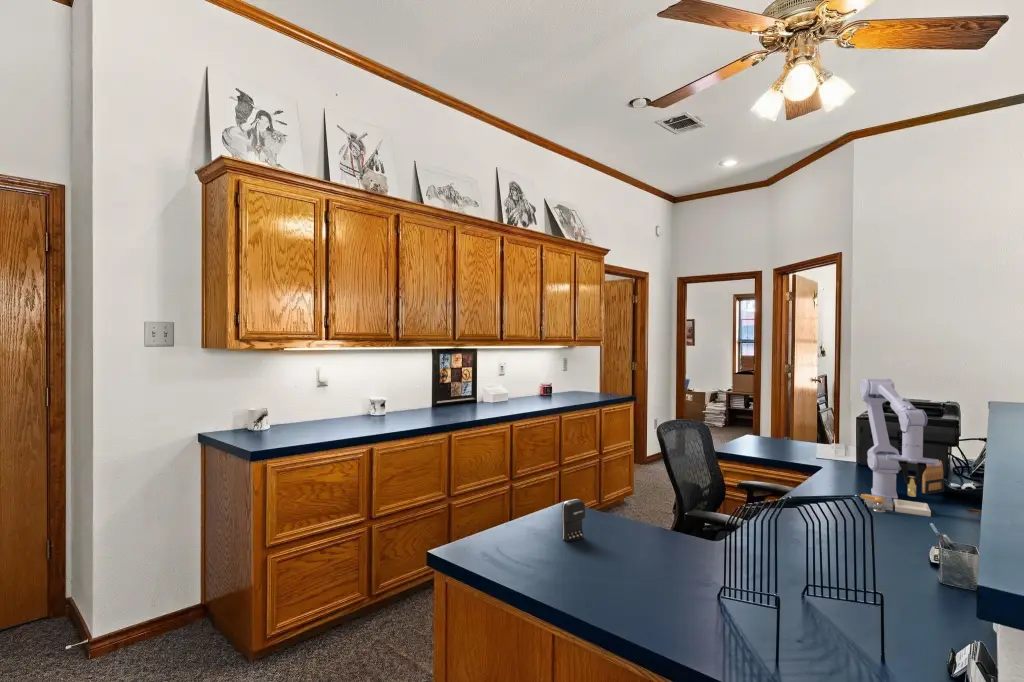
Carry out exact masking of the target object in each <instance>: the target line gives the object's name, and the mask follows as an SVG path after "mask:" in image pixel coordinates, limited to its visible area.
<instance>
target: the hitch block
mask: <svg viewBox="0 0 1024 682" xmlns="http://www.w3.org/2000/svg"><path fill="white" fill-rule="evenodd" d="M864 495H869V496H874V497H882V498H884V502H876V501H873V500H868V499H864V503H865V502H866V504H867V506H868V507H867V508H871V509H872V511H873V512H875V513H879V514H880V513H881V514H883V513H886V510H887V511H892V512H893V511H894V504H893V498H891V497H885V496H877V495H872V494H869V493H864Z"/></svg>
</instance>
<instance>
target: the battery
mask: <svg viewBox="0 0 1024 682" xmlns="http://www.w3.org/2000/svg"><path fill="white" fill-rule="evenodd" d="M586 517H587V516H586V503H585V502H584V501H583V500H580V499H578V498H573V499H569V500H565V501H563V502H562V506H561V538H562V540H564V541H566V542H574V541H577V540H581V539H584V530H583V519H586Z"/></svg>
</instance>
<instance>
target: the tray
mask: <svg viewBox="0 0 1024 682" xmlns="http://www.w3.org/2000/svg"><path fill="white" fill-rule="evenodd" d="M892 502H893V509H894V512H896V513H901V514H902V513H903V514H908V515H916V516H922V517H923V516H924V517H931V516H932V515H931V514H932V511H931V509H930V507H929V504H928V503H926V502H919V501H911V500H903V499H895V498H893V500H892Z"/></svg>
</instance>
